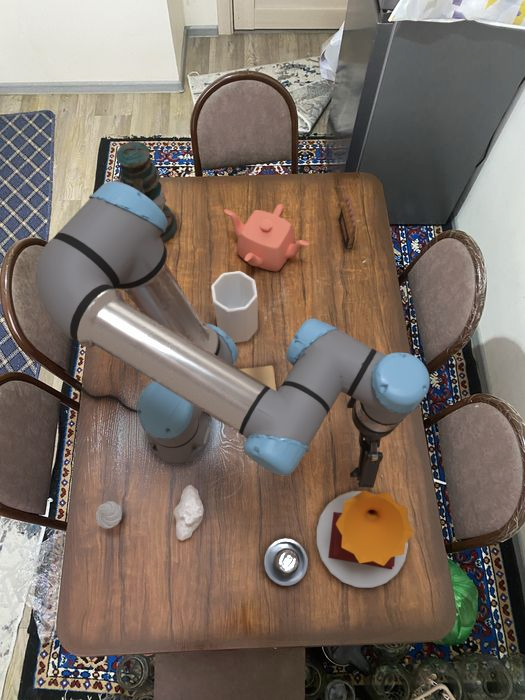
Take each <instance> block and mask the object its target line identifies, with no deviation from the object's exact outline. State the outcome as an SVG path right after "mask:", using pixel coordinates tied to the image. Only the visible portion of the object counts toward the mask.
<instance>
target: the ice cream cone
mask: <svg viewBox="0 0 525 700" xmlns="http://www.w3.org/2000/svg"><path fill="white" fill-rule="evenodd" d="M95 512H96V514H95V517H94V518H95V522H96V524H97V525H98V526H99V527H102V528H103V529H113V528H114V527H116V526H117V525H118V524H119V523H120V522H121V521H122V519H123V518H122V517H123V511H122V507H121V505H119V504H117V503H116V502H115V501H112V500H111V501H109V500H106V502H104V503H102V504H100V505H99V506H98V508H97V509H96V511H95Z"/></svg>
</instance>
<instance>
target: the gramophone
mask: <svg viewBox="0 0 525 700" xmlns="http://www.w3.org/2000/svg"><path fill="white" fill-rule="evenodd" d="M413 534H414V530H413V529H412V526H411V524H410V522H409V521H408V507H406V506H404V505H402V504H399V503H398V502H396V501H395V500H394V498H393V496H392V495H391V493H390V492H388V491H387V492H381V493H376V494H375V493H372V492H370V491H367V490H366V489H363V490H361V491H360V490H352V491H349V492H346V493H342V494H340V495H338V496H337V497H335V498H334V499H332V500H331V501H330V502H329V503H328V504H327V505H326V506H325V507H324V509H323V511H322V512H321V513H320V515H319V518H318V521H317V524H316V528H315V546H316V548H317V549H316V550H317V552H318V555H319V558H320V560H321V562H322V563H323V565H324V566H325V568H326V569H327V571H328V572H329V574H331V575H332V576H333V577H335V578H336V579H337V580H338V581H339V582H341V583H344V584H346V585H349V586H352V587H354V588H361V589H362V588H364V589H365V588H366V589H367V588H369V589H370V588H371V589H372V588H375V587H378V586H382V585H384V584H387V583H388V582H389V581H390V580H392V579H393V578H394V577H395V576H396V575H398V573H399V572H400V570H401V569H402V567H403V565H404V563H405V562H406V558H407V554H408V550H409V543H408V542H409V539H410V538H411V536H412V535H413Z"/></svg>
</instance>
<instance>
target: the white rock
mask: <svg viewBox="0 0 525 700" xmlns="http://www.w3.org/2000/svg"><path fill="white" fill-rule="evenodd" d="M179 500H180V501H179V502H178V504H177V505H176V506H175V508H174V510H173V516H174V518H175V523H176V525H175V537H176V538H177V540H179V541H185V540H187V539H189V538H191V537H192V536H193V532H195V531H196V530H197V529H198V528H199V526H200V524H202V522H203V518H204V517H203V515H204V511H205V508H204V504H203V503H202V499H200V495H199V490H198V489H197V488H196V487H195V486H193V485H192V484H189V485H186V486H185V487H184V488H183V490H182V493H181V495H180V499H179Z"/></svg>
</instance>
